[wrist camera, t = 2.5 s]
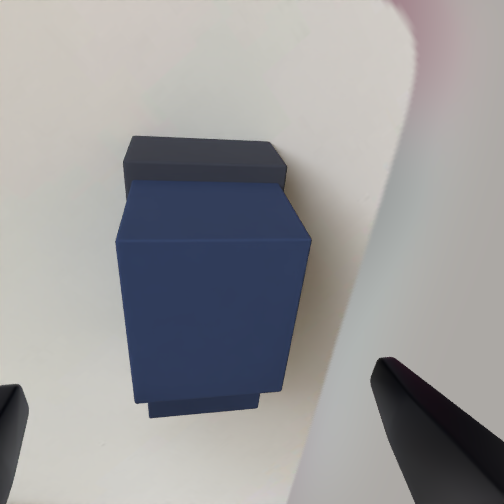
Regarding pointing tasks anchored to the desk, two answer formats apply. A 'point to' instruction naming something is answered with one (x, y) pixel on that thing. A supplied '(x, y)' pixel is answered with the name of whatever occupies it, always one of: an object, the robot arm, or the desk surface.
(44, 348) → the desk surface
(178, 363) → the stepped navy block
